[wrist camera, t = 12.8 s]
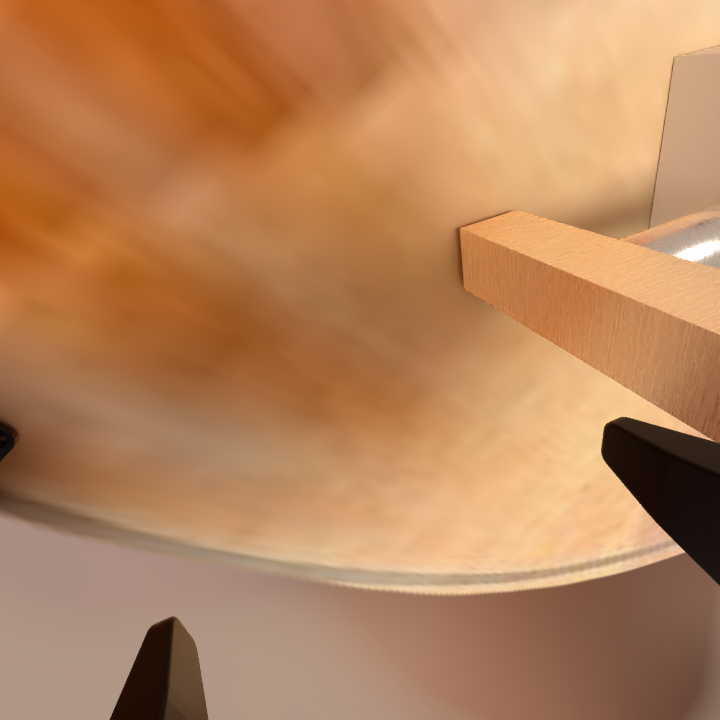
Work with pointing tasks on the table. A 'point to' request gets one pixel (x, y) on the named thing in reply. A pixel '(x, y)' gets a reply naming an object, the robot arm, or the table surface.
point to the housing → (690, 139)
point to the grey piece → (614, 301)
